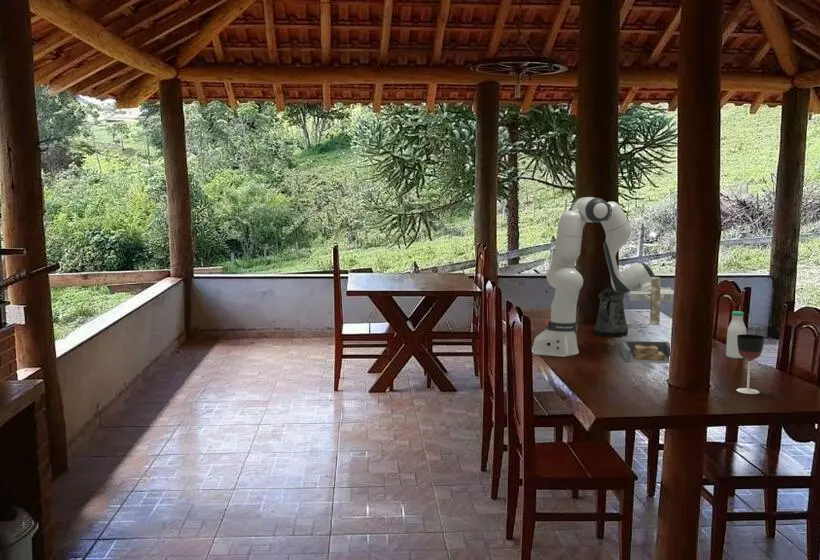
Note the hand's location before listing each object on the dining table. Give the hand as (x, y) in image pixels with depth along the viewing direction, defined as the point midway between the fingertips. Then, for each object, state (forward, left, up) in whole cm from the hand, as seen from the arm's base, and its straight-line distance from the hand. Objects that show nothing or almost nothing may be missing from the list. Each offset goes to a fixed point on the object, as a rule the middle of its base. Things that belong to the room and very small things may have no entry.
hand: (655, 298), depth 297 cm
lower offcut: (-3, -5, -25) cm, 26 cm away
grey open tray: (-3, -4, -26) cm, 27 cm away
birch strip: (0, +1, -11) cm, 11 cm away
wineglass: (+25, -46, -27) cm, 59 cm away
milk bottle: (+36, +10, -27) cm, 46 cm away
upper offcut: (-4, -5, -22) cm, 23 cm away
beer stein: (-12, +52, -27) cm, 59 cm away
